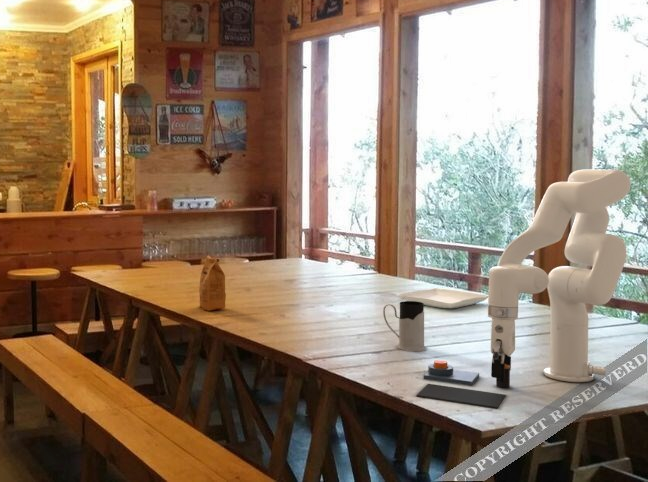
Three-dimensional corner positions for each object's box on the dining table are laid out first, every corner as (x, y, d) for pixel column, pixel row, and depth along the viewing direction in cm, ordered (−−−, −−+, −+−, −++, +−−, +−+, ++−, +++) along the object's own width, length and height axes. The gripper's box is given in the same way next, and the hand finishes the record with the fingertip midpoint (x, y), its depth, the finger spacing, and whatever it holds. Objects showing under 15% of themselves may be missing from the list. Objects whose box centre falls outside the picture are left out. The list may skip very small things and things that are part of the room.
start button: (448, 367, 228) (448, 361, 228) (445, 370, 225) (445, 363, 225) (435, 365, 230) (435, 359, 230) (432, 368, 227) (432, 362, 227)
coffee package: (218, 304, 342) (217, 254, 341) (228, 310, 330) (227, 258, 329) (196, 306, 339) (195, 255, 338) (205, 311, 327) (204, 259, 326)
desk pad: (505, 396, 209) (505, 394, 209) (497, 408, 199) (497, 407, 199) (428, 385, 220) (428, 383, 220) (416, 396, 210) (416, 394, 210)
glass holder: (419, 352, 255) (419, 306, 255) (377, 346, 265) (377, 301, 264) (429, 347, 262) (429, 302, 261) (389, 341, 271) (389, 298, 271)
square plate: (490, 303, 333) (490, 294, 332) (451, 312, 317) (451, 302, 317) (435, 295, 355) (435, 286, 355) (395, 302, 340) (395, 293, 340)
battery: (510, 386, 217) (510, 364, 217) (508, 389, 215) (508, 367, 214) (497, 384, 219) (497, 363, 219) (495, 387, 216) (495, 366, 216)
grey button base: (479, 377, 227) (479, 366, 227) (471, 386, 219) (471, 375, 218) (432, 370, 234) (432, 361, 234) (423, 379, 226) (423, 368, 226)
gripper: (512, 318, 206) (510, 383, 207) (522, 308, 221) (521, 369, 222) (481, 315, 211) (480, 378, 211) (494, 305, 225) (492, 365, 226)
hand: (501, 373), depth 216 cm, fingers open, 9 cm apart
